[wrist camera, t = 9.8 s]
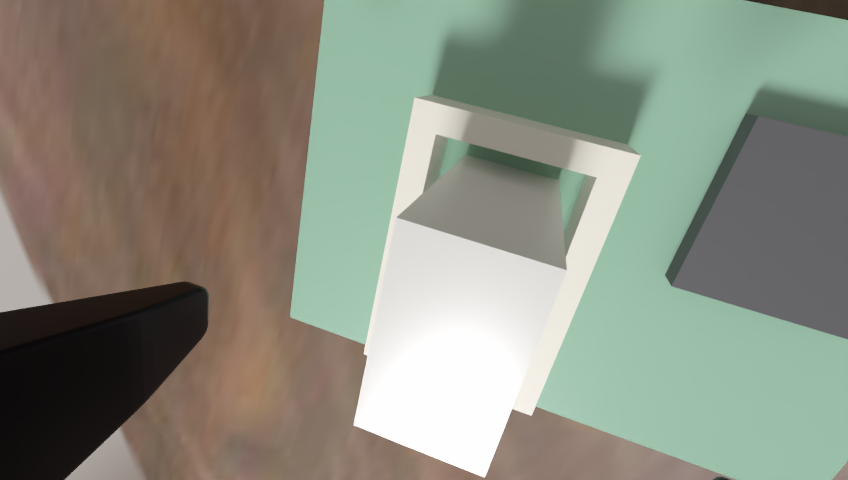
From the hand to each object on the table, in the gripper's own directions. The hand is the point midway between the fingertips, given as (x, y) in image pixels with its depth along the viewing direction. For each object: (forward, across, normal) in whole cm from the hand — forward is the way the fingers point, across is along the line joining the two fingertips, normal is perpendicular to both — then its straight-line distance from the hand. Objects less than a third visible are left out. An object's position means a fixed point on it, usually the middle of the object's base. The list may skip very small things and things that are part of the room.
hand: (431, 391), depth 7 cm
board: (+9, -3, -1) cm, 10 cm away
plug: (+8, 0, 0) cm, 8 cm away
